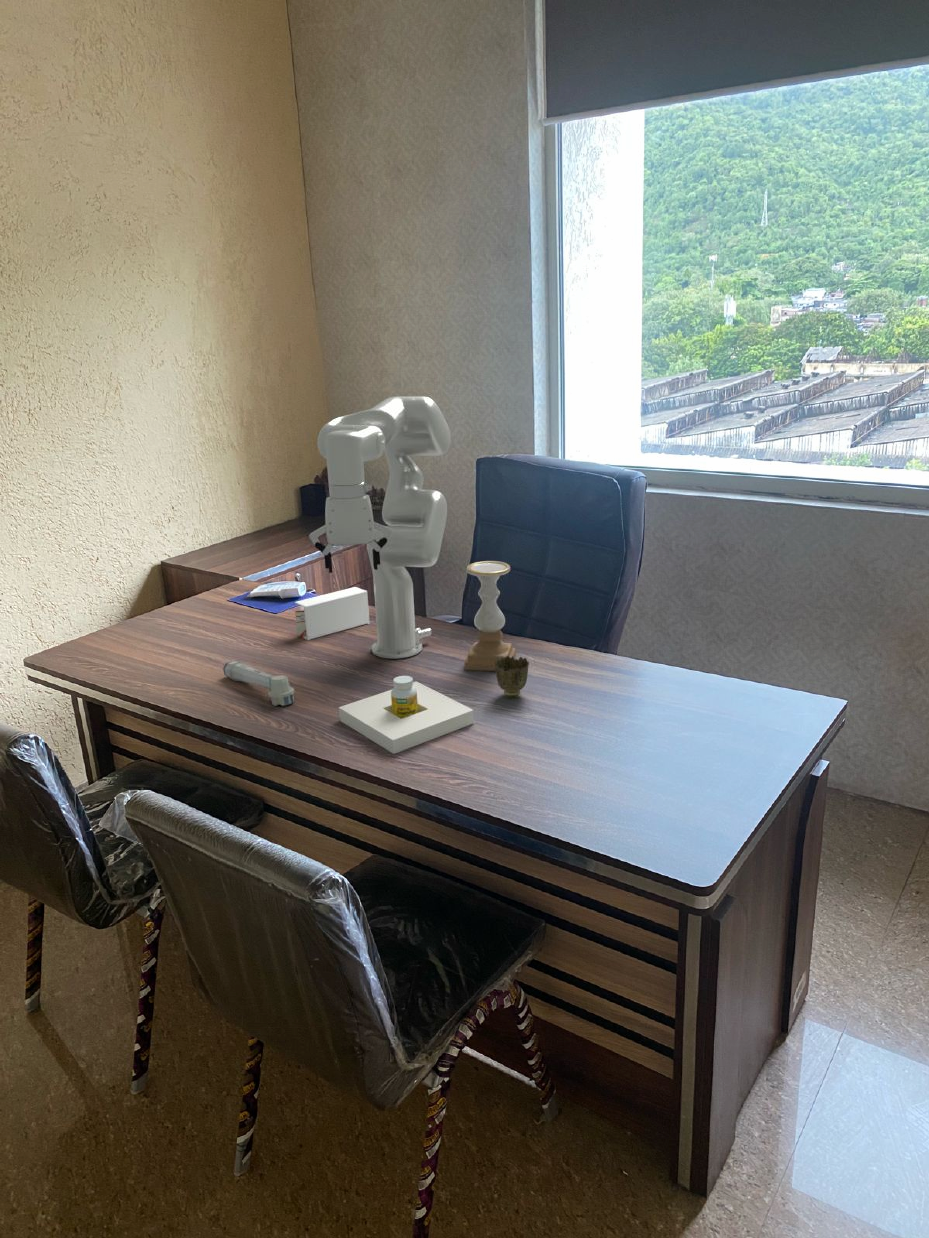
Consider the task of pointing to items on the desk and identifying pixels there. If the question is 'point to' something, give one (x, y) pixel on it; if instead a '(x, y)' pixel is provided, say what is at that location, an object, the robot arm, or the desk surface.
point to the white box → (332, 613)
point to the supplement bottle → (404, 697)
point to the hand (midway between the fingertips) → (353, 569)
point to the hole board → (406, 719)
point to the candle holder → (488, 619)
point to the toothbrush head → (262, 681)
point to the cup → (511, 675)
